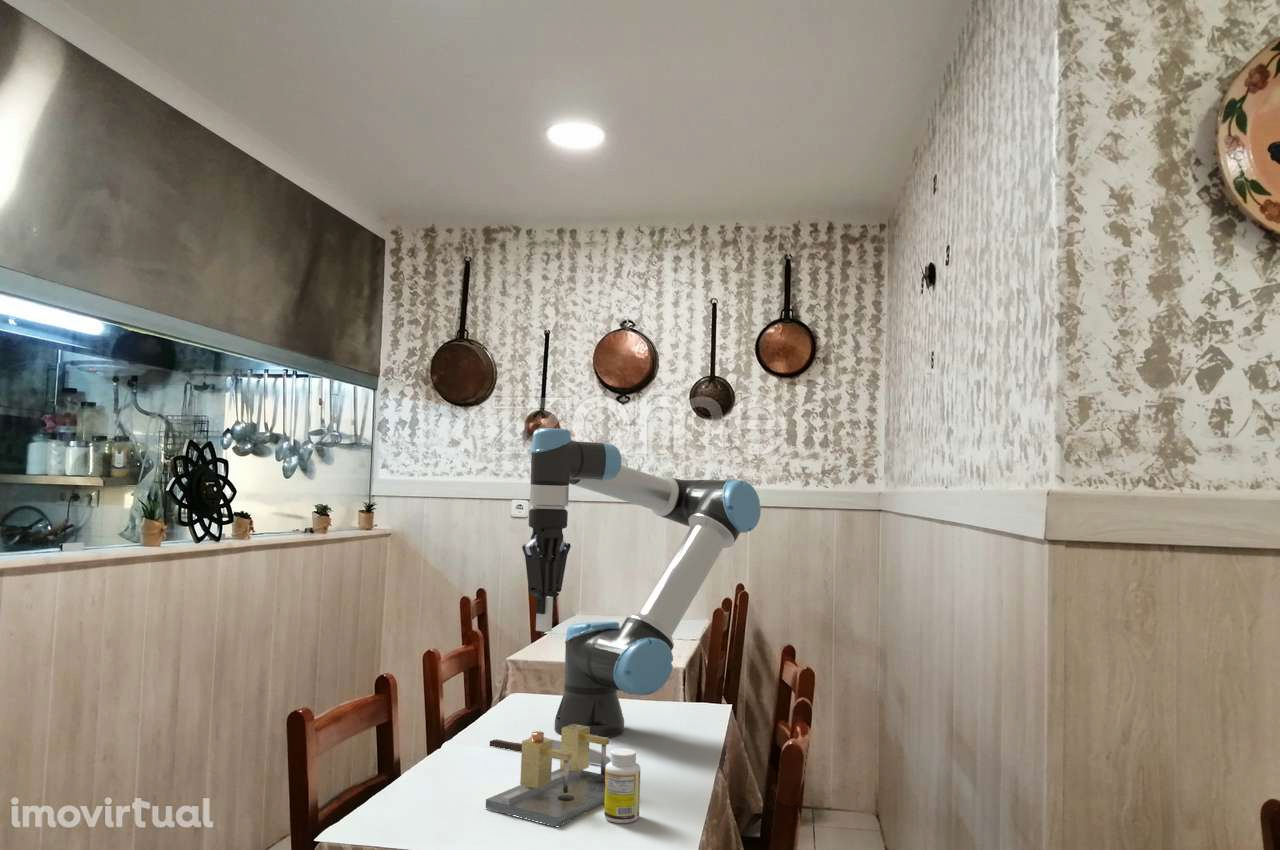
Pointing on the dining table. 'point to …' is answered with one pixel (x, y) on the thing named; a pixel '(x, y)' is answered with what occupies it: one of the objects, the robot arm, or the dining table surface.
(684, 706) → the dining table surface
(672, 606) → the robot arm
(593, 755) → the kitchen knife
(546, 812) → the bolt plate
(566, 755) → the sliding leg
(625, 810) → the supplement bottle
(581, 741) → the fixed leg
